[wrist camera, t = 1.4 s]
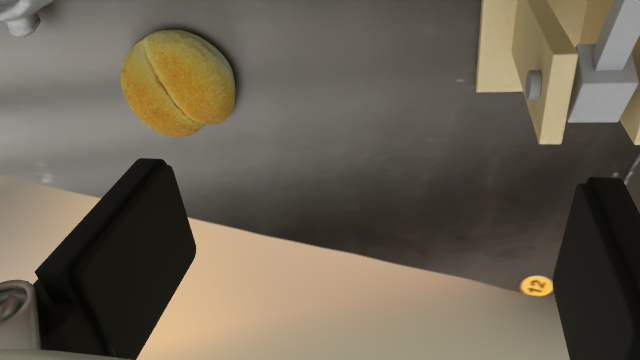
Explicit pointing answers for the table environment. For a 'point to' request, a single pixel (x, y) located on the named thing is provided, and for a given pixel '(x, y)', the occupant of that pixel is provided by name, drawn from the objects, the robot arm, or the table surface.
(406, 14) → the table surface
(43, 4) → the dish
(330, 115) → the table surface
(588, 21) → the bracket
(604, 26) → the lever
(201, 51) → the bread roll
